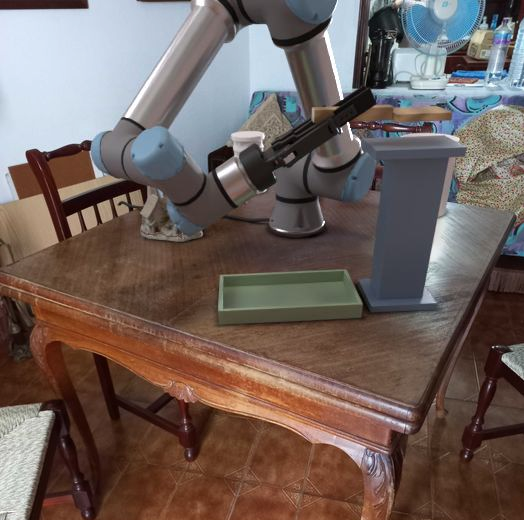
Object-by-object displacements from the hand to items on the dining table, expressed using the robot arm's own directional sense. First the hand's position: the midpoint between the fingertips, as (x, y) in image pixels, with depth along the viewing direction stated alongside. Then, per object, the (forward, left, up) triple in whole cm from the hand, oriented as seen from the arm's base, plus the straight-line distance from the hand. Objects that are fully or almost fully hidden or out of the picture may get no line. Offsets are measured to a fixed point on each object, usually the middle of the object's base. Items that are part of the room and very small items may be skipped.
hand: (370, 94), depth 76 cm
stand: (+6, +5, -38) cm, 38 cm away
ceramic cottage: (-59, +6, -38) cm, 70 cm away
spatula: (+1, +1, -4) cm, 4 cm away
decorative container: (-66, +50, -38) cm, 91 cm away
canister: (-10, +61, -38) cm, 72 cm away
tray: (-10, -9, -38) cm, 40 cm away
